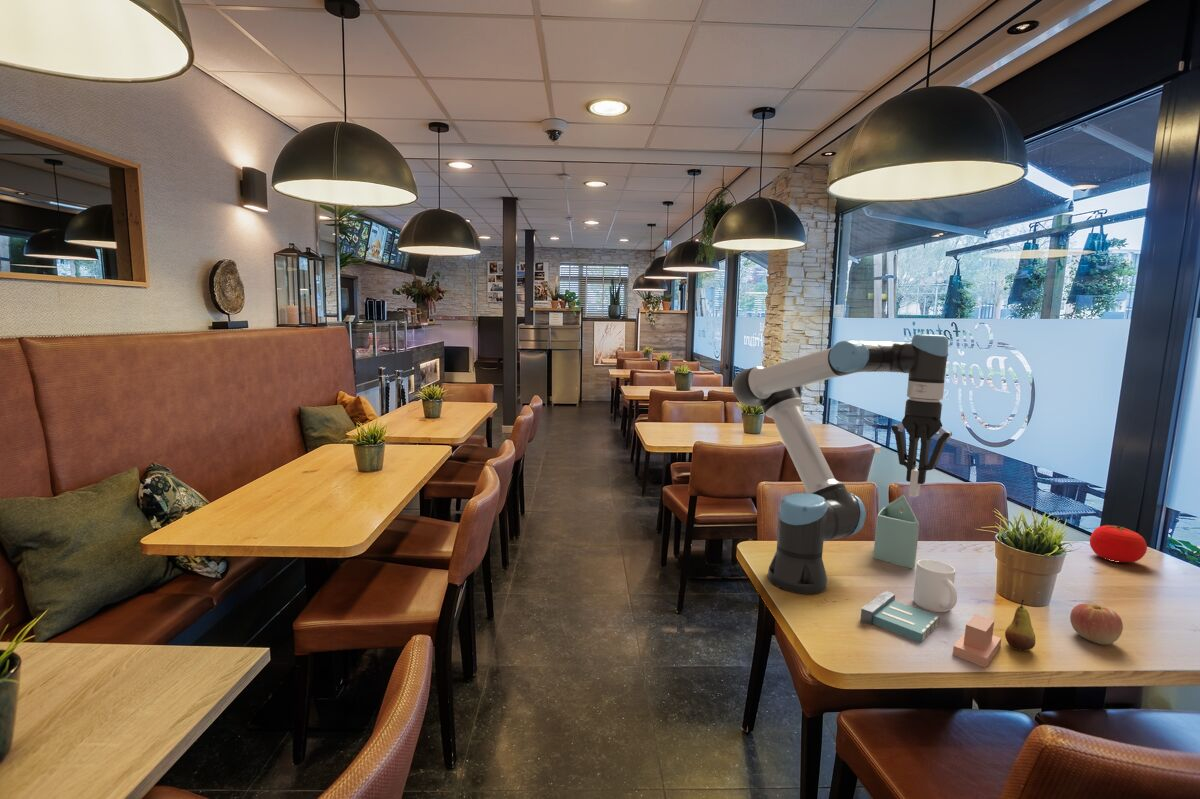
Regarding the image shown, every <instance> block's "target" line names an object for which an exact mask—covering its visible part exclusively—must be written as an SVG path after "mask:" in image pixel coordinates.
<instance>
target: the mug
mask: <svg viewBox="0 0 1200 799" xmlns="http://www.w3.org/2000/svg"><path fill="white" fill-rule="evenodd" d="M955 577H956V569H955V567H954V566H952V565H950V564H949V563H946V562H942V561H939V560H934V559H919V560H917V561H916V567H915V578H914V588H913V602H914V604H916V605H917V607H920V608H921V609H924V610H925V611H930V612H932V613H933V612H935V613H947V612H949V611H950V610H952V609H954V607H956V605H957V601H958V593H957V589H956V586H955Z"/></svg>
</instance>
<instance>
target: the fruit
mask: <svg viewBox="0 0 1200 799" xmlns="http://www.w3.org/2000/svg"><path fill="white" fill-rule="evenodd" d="M1024 602H1025V600H1024V599H1021V604H1020V605H1019V606H1017V608H1016V610H1015V613H1014V616H1013V619H1012V621H1011V623H1010V624H1009V625H1008V626H1007V627H1006V629H1005V631H1004V637H1005V639H1006V642H1007V643H1008V645H1009V646H1010V647H1011V648H1013V650H1017V651H1018V650H1019V651H1030V650H1032V649H1033V648H1034V647H1035V645H1036V633H1035V631H1034V627H1033V624H1032V621H1031V616H1030V613H1029V612H1028V609H1027V608H1026V607H1025V606H1023V604H1024Z"/></svg>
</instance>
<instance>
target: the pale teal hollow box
mask: <svg viewBox="0 0 1200 799" xmlns="http://www.w3.org/2000/svg"><path fill="white" fill-rule="evenodd" d="M876 516H877V517H876V523H875V524H876V525H875V535H874V543H873V544H874V545H873V555H872V558H873V559H877V560H879V561H882V562H886V563H889V564H893V565H898V566H901V567H904V568H908V569H912V570H914V569H915V570H916V562H917V561H916V560H917V553H918V552H917V551H918V544H919V543H918V540H919V533H920V523H919V521H918V519H917V517H916V515H915V512H914V511H913V509H912V507H911V506H910V504H909V502H908V500H907V498H906V496H905V495H904V494H901V495H899V497H898V498H896V499H893V501H891V502H889V503H888V504H886V505H884V506H883V507H882V509H881V510H880V511H878V514H877V515H876Z"/></svg>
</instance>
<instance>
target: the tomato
mask: <svg viewBox="0 0 1200 799" xmlns="http://www.w3.org/2000/svg"><path fill="white" fill-rule="evenodd" d="M1089 536H1090V537H1089V546H1090V547H1091V549H1092V551H1093V552H1094V554H1096V555H1097V556H1098V557H1100V556H1101V557H1100V558H1102V557H1103V558H1102V559H1104V558H1106V559H1110V560H1114V561H1119V562H1130V563H1135V562H1138V561H1139V560H1141V559H1143V557H1144V556H1145V554H1146V553H1147V550H1148V545H1147V542H1146V540H1145V538H1144V536H1142V535H1141V534H1139V533H1138V532H1136V531H1133V530H1131V529H1128V528H1125V526H1120V525H1110V524H1105V525H1101V526H1098V527H1096V528H1095V529H1094V530H1093V531H1092V533H1091V535H1089ZM1106 559H1105V560H1106Z"/></svg>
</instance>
